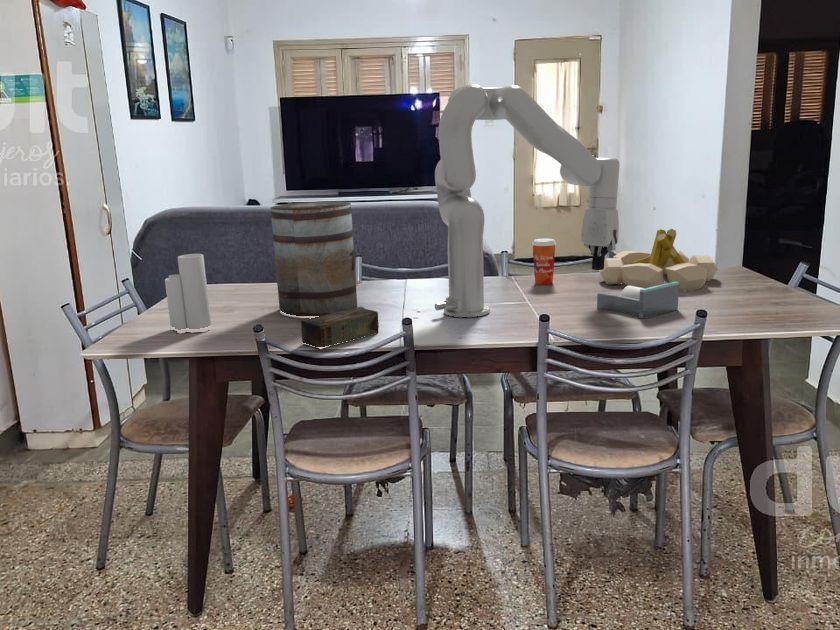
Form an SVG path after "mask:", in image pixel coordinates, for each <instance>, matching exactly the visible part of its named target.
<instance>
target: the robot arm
mask: <svg viewBox="0 0 840 630" xmlns="http://www.w3.org/2000/svg"><path fill="white" fill-rule="evenodd" d="M447 100H448V101H447V104H446V105H445V106H444V109H443V111H442V113H441V116H440V118H439V123H438V144H439V154H440V160H439V161H438V162H437V164H436V166H435V170H434V182H435V189H436V196H437V204H438V208H439V210H438V211H439V215H440V218H441V220H442V222H443V223H444V224H445V225H446V226H447V227H448V229H447V230H448V231H447V233H448V234H447V266H448V267H447V268H448V272H447V273H448V296H447V297H445V300H444V301H443V302H437V303H435V304H434V309H435V311H442V310H443V313H444V315H446V316H448V315H449V317H452V316H454V317H453V318H462V317H467V318H476V317H477V316H478V317H483V316H485V315H488V314H489V313H490V311H491V310H490V308H491V307H490V306H488V305H486V304H485V293H484V292H485V290H484V289H485V286H484V284H485V282H484V281H485V279H484V247H483V246H484V231H485V230H484V229H485V213H484V209H483V207H482V205H481V204H480V203H479V202H478V201H477V200H476V199H474V198H472V192H471V188H472V187H473V186H474V184H475V182H476V179H477V178H476V177H477V170H476V165H475V160H474V159H475V158H474V150H473V141H472V131H473V126H474V123H475V122H476V121H499V120H501V121H502V120H503V121H504V120H505V121H507V122H508V123H509V124H510V125H511V126H512V127H513V128H514V129H515V130H516V131H517V132H518V133H519V134H520V136H521V137H522V138H524V139H525V140H526V142H527V143H528V144H530V145H529V146H532V147H533V148H535V149H536V150H537V151H539V152H541V153H544V154H546V155H547V156H549V157H551V158H553V159H554V160H555V161H556V162H558V163H559V164H560V169H559V174H560V177H561V179H562V180H563V181H564V182H566V183H567V184H569V185H573V186H582V187H589V192H588V198H587V199H586V201H587V204H588V206H587V207H585V211H584V215H583V218H582V224H581V225H582V226H581V233H580V241H581V243H583V246H584V247H586V248H587V249H589V251H590V255H591V256H592V257H591V258H592V259H591V260H592V261H591V270H592V271H593V270H594V271H599V270H603V269H604V261H605V257H606V256H608V254H609V252H611V251H613V252H614V251H616V250H617V249H616V248H617V247H616V245H617V244H618V241H619V229H620V228H619V225H620V224H619V223H620V222H619V210H618V209H617V202H618V190H619V189H618V187H619V177H620V160H619V159H617V158H614V157H595V156H594V155H593V154H592V153H591V152H590V151H589V149H588V148H587V147H586V146H585V145H584V144H583V143H582V142H580V141H579V140H578V139H577V138H576V137H574V135H572V134H570V133H569V132H568V131H567V130H566V129H565V128H563V127H562V126H561V125H559V124H558V123H557V122H556V121H555V120H554V119H553V118H552V117H551V116H550V115H549V114H548V113H547V112H546V111H545V110H544V108H542V107H541V106H540V104H539V103H538V102H537V101H536V100H535V99H534V98H533V97H532V96H531V94H529V93H528V91H526V90H525V89H524V88H523V87H521V86H519V85H515V84H513V85H512V84H511V85H507V86H503V87H482V85H479V84H475V83H470V84H465V85H463V86H459V87H457V88H455V89H454V90H453V91H452V92H451V93H450V95H449V98H448V99H447ZM478 317H477V318H478Z"/></svg>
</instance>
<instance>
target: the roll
mask: <svg viewBox="0 0 840 630" xmlns="http://www.w3.org/2000/svg"><path fill="white" fill-rule="evenodd" d="M640 289H644V288H640V287H635V286H627V285H626V286H625V287H624V288H623V289H622V291H621V293H620V296H624V297H629V298H634V299H639V300H640Z"/></svg>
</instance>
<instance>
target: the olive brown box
mask: <svg viewBox="0 0 840 630" xmlns="http://www.w3.org/2000/svg"><path fill="white" fill-rule="evenodd" d="M300 327H301V328H300V330H301V331H300V332H301V343H302V342H303V343H306V344H309V345H312V346H315V347H325V346H329V345H334V344H337V343H342V342H346V341H350V340H353V339H356V340H358V339H357V338H360V339H362V338H361V337H363V338H365V337H364V336H367V337H369V336H368V335H370V336H372V335H371V334H373V335H375V334H374V333H376V334H379V328H380V326H379V312H378V311H376V310H373V309H369V308H365V307H364V306H357V308H355V309H351V310H346V311H341V312H337V313H332V314H328V315H324V316H319V317H315V318H311V319H303V320H301V321H300ZM353 341H354V340H353ZM350 342H351V341H350ZM346 343H347V342H346Z"/></svg>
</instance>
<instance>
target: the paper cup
mask: <svg viewBox="0 0 840 630" xmlns="http://www.w3.org/2000/svg"><path fill="white" fill-rule="evenodd" d="M531 245H532V255H533V256H532V257H533V259H532V260H533V270H534V271H533V272H534V284H535V283H536V285H542V286H546V285H547V286H548V284H549V285H552V284H553V282H554V270H555V252H556V245H558V244H557V242H556V240H555V239H553V238H535V239H533V241H532V243H531ZM551 283H552V284H551Z"/></svg>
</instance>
